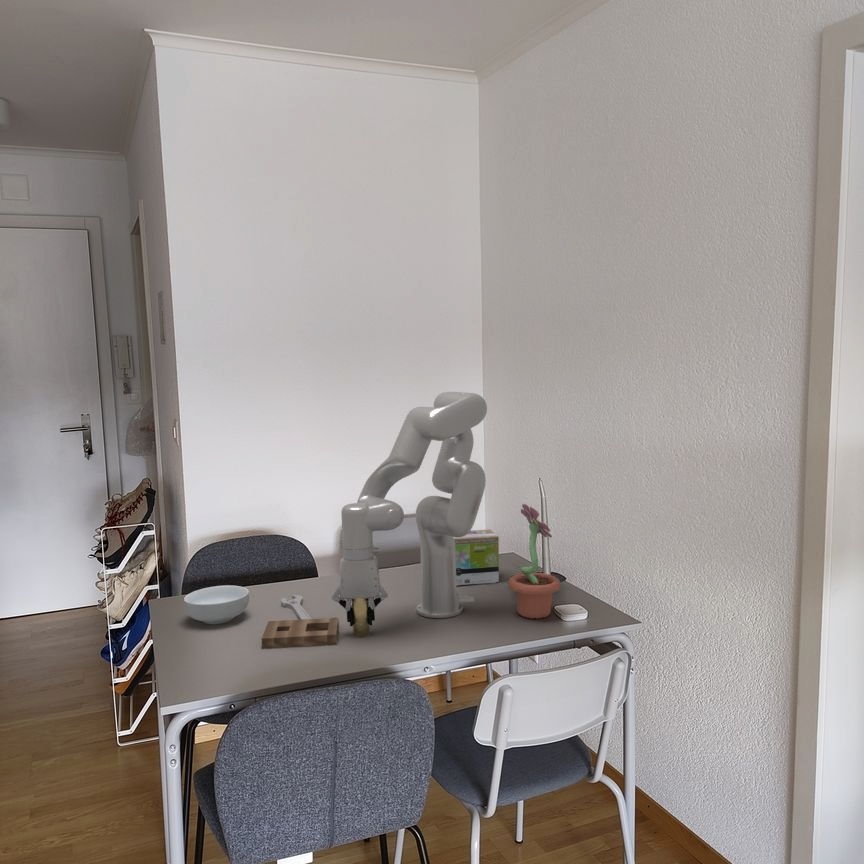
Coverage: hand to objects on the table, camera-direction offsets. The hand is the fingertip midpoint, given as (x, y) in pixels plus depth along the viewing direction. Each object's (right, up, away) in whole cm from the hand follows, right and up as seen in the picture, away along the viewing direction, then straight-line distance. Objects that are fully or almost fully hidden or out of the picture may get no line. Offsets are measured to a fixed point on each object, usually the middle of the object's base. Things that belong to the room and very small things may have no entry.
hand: (361, 623), depth 196 cm
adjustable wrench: (-19, -2, +17) cm, 26 cm away
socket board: (-15, -3, -1) cm, 15 cm away
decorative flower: (+45, -1, +11) cm, 47 cm away
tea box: (+30, +2, +42) cm, 52 cm away
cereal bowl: (-40, -3, +15) cm, 43 cm away
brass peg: (0, -3, 0) cm, 3 cm away
